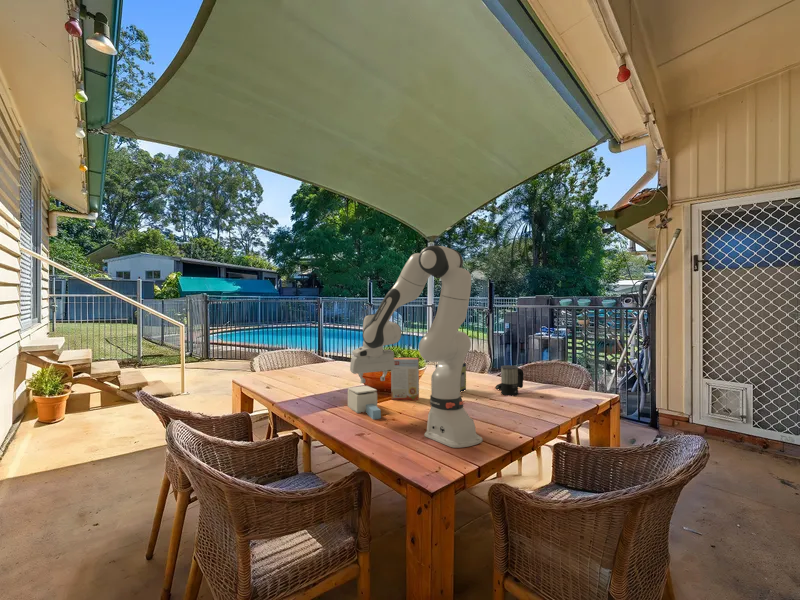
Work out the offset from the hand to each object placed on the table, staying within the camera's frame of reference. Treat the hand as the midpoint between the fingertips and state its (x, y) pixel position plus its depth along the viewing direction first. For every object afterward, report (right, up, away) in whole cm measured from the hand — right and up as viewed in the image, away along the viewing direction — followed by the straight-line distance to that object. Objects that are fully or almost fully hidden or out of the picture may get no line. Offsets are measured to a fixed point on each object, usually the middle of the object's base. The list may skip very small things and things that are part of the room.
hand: (373, 381), depth 167 cm
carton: (-6, -15, +11) cm, 19 cm away
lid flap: (-6, -6, +11) cm, 14 cm away
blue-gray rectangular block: (0, -15, 0) cm, 15 cm away
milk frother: (+70, -15, +40) cm, 82 cm away
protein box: (+40, -15, +42) cm, 60 cm away
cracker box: (+15, -15, +28) cm, 35 cm away
